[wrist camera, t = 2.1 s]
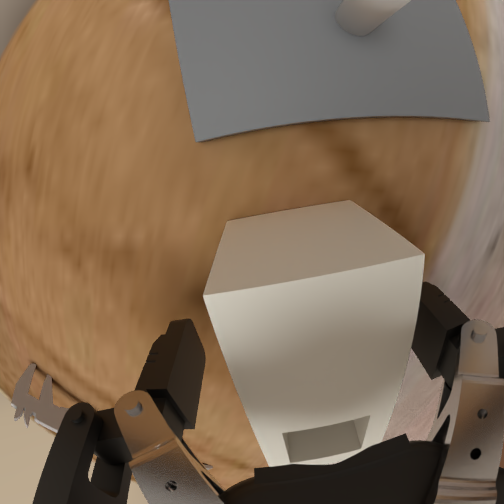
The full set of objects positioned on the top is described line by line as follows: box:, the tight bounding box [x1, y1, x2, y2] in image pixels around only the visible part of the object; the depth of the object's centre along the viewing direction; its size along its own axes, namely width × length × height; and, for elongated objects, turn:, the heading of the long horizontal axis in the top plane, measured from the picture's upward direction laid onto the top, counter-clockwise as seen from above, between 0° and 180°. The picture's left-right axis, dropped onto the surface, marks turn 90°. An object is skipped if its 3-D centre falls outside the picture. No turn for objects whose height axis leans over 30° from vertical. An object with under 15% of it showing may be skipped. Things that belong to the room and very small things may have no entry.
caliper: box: [11, 363, 213, 470], centre depth 16 cm, size 20×1×6 cm, turn 48°
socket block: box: [203, 200, 425, 467], centre depth 11 cm, size 5×11×6 cm, turn 11°
